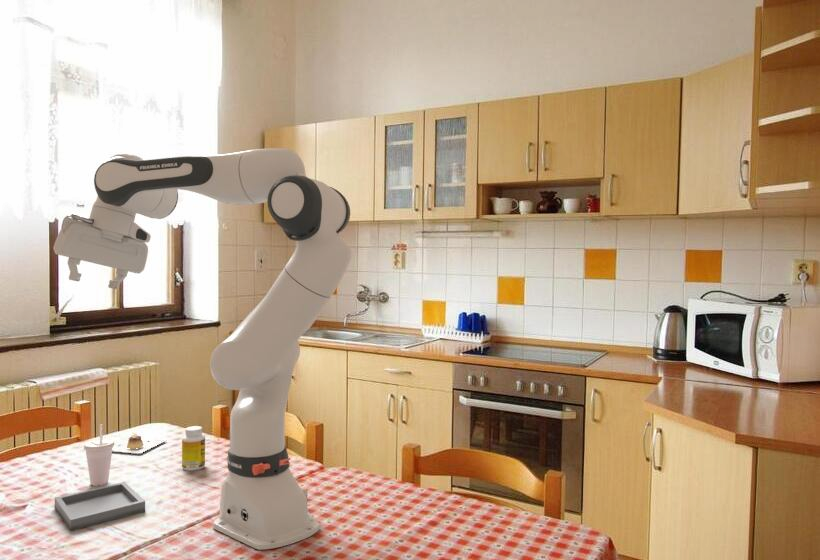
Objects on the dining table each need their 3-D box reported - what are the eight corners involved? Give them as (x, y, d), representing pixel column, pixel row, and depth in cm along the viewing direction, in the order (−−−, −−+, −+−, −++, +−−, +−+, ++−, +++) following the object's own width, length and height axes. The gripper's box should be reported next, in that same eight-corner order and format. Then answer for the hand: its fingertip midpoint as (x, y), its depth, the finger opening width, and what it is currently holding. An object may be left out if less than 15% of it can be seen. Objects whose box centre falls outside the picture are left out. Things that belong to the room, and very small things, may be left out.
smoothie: (101, 489, 137) (101, 429, 136) (77, 486, 138) (77, 427, 137) (120, 479, 143) (120, 421, 142) (97, 476, 144) (97, 419, 144)
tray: (145, 511, 125) (145, 501, 125) (70, 531, 116) (70, 520, 116) (124, 491, 136) (124, 481, 136) (54, 507, 126) (54, 497, 126)
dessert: (130, 440, 174) (130, 424, 174) (167, 444, 172) (167, 427, 171) (101, 454, 162) (101, 436, 162) (140, 457, 160) (140, 440, 160)
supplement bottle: (203, 470, 149) (203, 430, 149) (180, 472, 148) (180, 431, 148) (206, 463, 155) (206, 424, 154) (183, 464, 154) (183, 425, 153)
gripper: (74, 212, 123) (56, 277, 121) (156, 237, 140) (141, 294, 139) (57, 209, 126) (39, 273, 124) (139, 235, 143) (124, 290, 142)
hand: (94, 284), depth 132 cm, fingers open, 8 cm apart
